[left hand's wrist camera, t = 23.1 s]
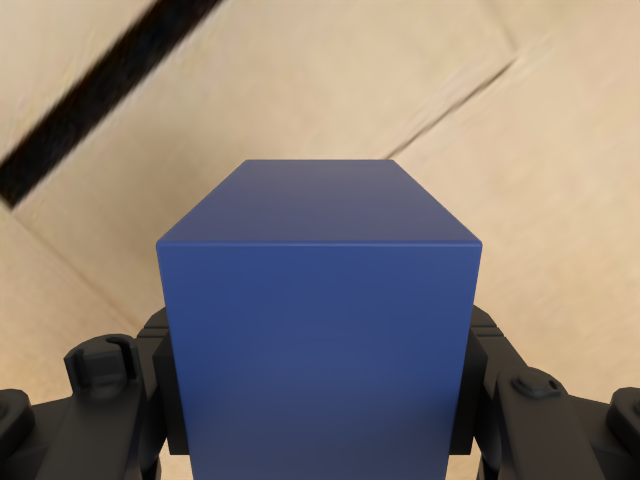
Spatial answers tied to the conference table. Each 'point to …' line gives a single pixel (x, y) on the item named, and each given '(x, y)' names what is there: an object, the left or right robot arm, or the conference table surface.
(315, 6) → the conference table surface
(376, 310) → the brick
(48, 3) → the conference table surface
